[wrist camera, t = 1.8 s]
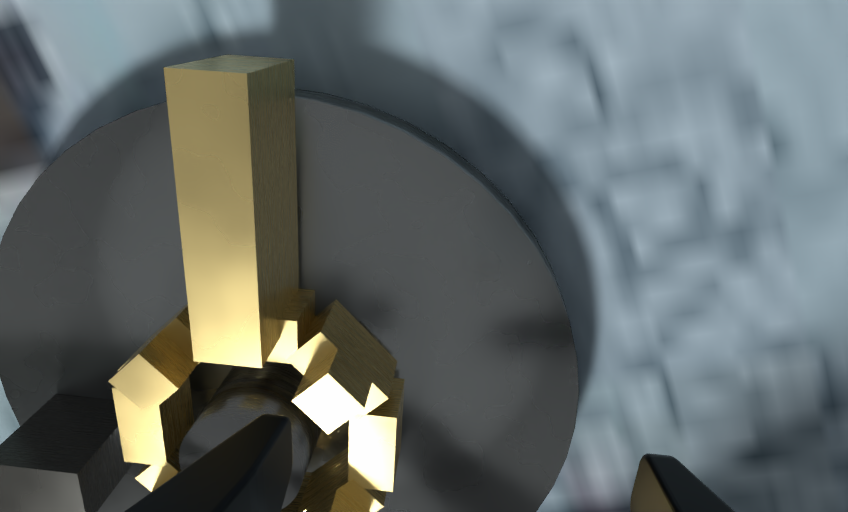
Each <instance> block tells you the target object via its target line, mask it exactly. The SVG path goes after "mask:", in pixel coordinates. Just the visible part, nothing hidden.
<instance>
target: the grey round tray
mask: <svg viewBox="0 0 848 512" xmlns="http://www.w3.org/2000/svg"><path fill="white" fill-rule="evenodd" d="M295 120H296V166H297V213H298V259H299V288H302V289H313V290H315V316H316V315H318V314H319V313H320V312H321V311H323V310H324V309H325V308H326V307H328V306H329V305H330V304H331V303H332V302H334V301H335V300H337V301H338V302H339V303H340V304H341V305H342V306H343V307H344V308H345V309H346V310H347V311H348V312H349V313H350V314H351V315H352V316H353V317H354V318H355V319H356V320H357V321H358V322H359V323H360V324H361V325H362V326H363V327H364V328H365V329H366V330H367V331H368V332H369V333H370V334H371V335H372V336H373V337H374V338H375V339H376V340H377V341H378V342H379V343H380V344H381V345H382V346H383V347H384V348H385V349H386V350H387V351H388V352H389V353H390V354H391V355H392V356H393V357H394V358H395V359H396V360H397V365H396V369H395V373H394V378H401V379H405V382H404V400H403V417H402V434H401V449H400V455H399V460H398V466H397V471H396V477H395V482H394V488H393V492H390V491H387V492H386V497H385V502H384V507H383V508H381V509H379V510H378V511H376V512H536V511H537V510H538V508H539V507H540V505H541V504H542V502H543V501H544V499H545V498H546V496H547V495H548V493H549V492H550V490H551V489H552V487H553V486H554V483H555V481H556V479H557V477H558V475H559V473H560V470H561V468H562V466H563V464H564V462H565V460H566V457H567V454H568V450H569V447H570V443H571V439H572V436H573V432H574V429H575V423H576V414H577V405H578V396H579V387H578V365H577V356H576V351H575V346H574V341H573V336H572V331H571V326H570V322H569V318H568V315H567V311H566V308H565V304H564V301H563V298H562V295H561V292H560V290H559V287H558V284H557V282H556V279H555V276H554V273H553V271H552V268H551V266H550V264H549V262H548V260H547V258H546V257H545V255H544V253H543V251H542V249H541V247H540V246H539V244H538V242H537V240H536V238H535V236H534V235H533V233H532V232H531V230H530V229H529V227H528V226H527V225H526V223H525V222H524V221H523V219H522V218H521V217H520V215H519V214H518V213H517V211H516V210H515V209H514V207H513V206H512V205H511V203H510V202H509V201H508V200H507V199H506V198H505V197H504V196H503V195H502V194H501V192H500V191H499V190H498V189H497V188H496V187H495V186H494V185H493V184H492V183H491V182H490V181H489V180H488V179H487V178H486V177H485V176H484V175H483V174H482V173H481V172H480V171H479V170H477V169H476V168H475V167H474V166H472V165H471V164H470V163H468V162H467V161H466V160H465V159H463V158H462V157H461V156H460V155H458V154H457V153H456V152H454V151H453V150H452V149H451V148H449V147H448V146H447V145H445V144H444V143H442V142H440V141H439V140H437V139H435V138H433V137H432V136H430V135H428V134H427V133H425V132H423V131H422V130H420V129H418V128H417V127H415V126H413V125H411V124H410V123H408V122H406V121H403V120H401V119H399V118H396V117H394V116H392V115H389V114H387V113H385V112H382V111H380V110H378V109H375V108H373V107H371V106H368V105H365V104H361V103H358V102H354V101H351V100H347V99H344V98H340V97H337V96H333V95H329V94H326V93H319V92H312V91H305V90H298V89H295ZM187 303H188V301H187V291H186V281H185V271H184V262H183V252H182V242H181V232H180V223H179V213H178V203H177V194H176V184H175V174H174V164H173V155H172V145H171V135H170V125H169V116H168V106H167V102H164V103H160V104H157V105H154V106H151V107H148V108H144V109H141V110H138V111H135V112H133V113H130V114H128V115H126V116H124V117H122V118H120V119H118V120H115V121H113V122H111V123H109V124H107V125H105V126H103V127H100V128H98V129H97V130H95V131H94V132H92V133H91V134H89V135H88V136H86V137H85V138H83V139H82V140H81V141H79V142H78V143H76V144H75V145H73V146H72V147H70V148H69V149H67V150H66V151H65V152H64V153H63V154H62V155H61V156H60V157H59V158H58V159H57V160H56V161H54V162H53V163H52V164H51V165H50V166H49V167H48V168H47V169H46V170H45V171H44V172H43V173H42V174H41V175H40V176H39V177H38V179H37V180H36V181H35V183H34V184H33V185H32V187H31V188H30V190H29V191H28V192H27V194H26V195H25V196H24V198H23V199H22V201H21V202H20V203H19V205H18V207H17V209H16V211H15V213H14V215H13V217H12V219H11V221H10V223H9V225H8V227H7V229H6V231H5V233H4V235H3V238H2V241H1V245H0V378H1V381H2V384H3V387H4V390H5V394H6V397H7V399H8V401H9V403H10V405H11V407H12V410H13V412H14V414H15V416H16V418H17V420H18V422H19V425H20V427H19V428H18V429H17V430H16V431H15V432H14V433H13V434H12V435H10V436H9V437H8V438H7V439H6V440H5V441H4V442H3V443H2V444H1V445H0V512H124V511H125V510H127V509H128V508H130V507H131V506H133V505H134V504H135V503H137V502H138V501H140V500H141V499H142V498H144V497H145V496H147V495H148V494H150V493H151V491H150V490H149V489H147V488H146V487H145V486H144V485H142V484H141V483H140V482H139V481H137V480H136V479H135V478H136V476H137V475H138V473H139V472H140V471H141V469H142V468H143V467H144V465H145V464H142V463H133V462H124V457H123V452H122V446H121V440H120V434H119V428H118V422H117V416H116V410H115V404H114V398H113V392H112V387H113V385H112V384H111V383H109V382H108V381H109V380H110V379H111V378H112V377H113V376H114V375H115V374H116V373H117V372H118V371H117V370H118V369H119V368H120V367H121V366H122V365H123V364H124V363H125V362H126V361H127V360H128V359H129V358H130V357H131V356H132V355H133V354H134V353H135V352H136V351H137V350H138V349H139V348H140V347H141V346H142V345H143V344H144V343H145V342H146V341H147V340H148V339H149V338H150V337H151V336H152V335H153V334H154V333H155V332H156V331H158V330H159V329H160V328H161V327H162V326H163V325H164V324H165V323H166V322H168V321H169V320H170V319H171V318H172V317H173V316H174V315H175V314H176V313H177V312H179V311H180V310H181V309H182V308H183V307H184V306H185V305H186V304H187ZM303 376H304V375H303V374H302V373H301V372H299V371H298V370H297V369H296V368H295V367H294V366H293V365H292V364H288V363H278V362H268V361H266V362H265V364H264V366H263V367H262V368H255V367H245V366H235V365H226V364H216V363H206V362H200V363H199V364H198V365H197V366H196V367H195V369H194V370H193V371H192V372H191V374H190V375H189V379H190V388H191V397H192V407H193V416H194V422H195V423H194V424H193V426H192V427H191V429H190V430H189V432H188V433H187V434H186V436H185V437H184V439H183V441H182V443H181V446H180V450H179V464H180V469H181V471H182V470H184V469H185V468H186V467H188V466H189V465H191V464H192V463H193V462H195V461H196V460H198V459H199V458H200V457H202V456H203V455H205V454H206V453H208V452H209V451H210V450H212V449H213V448H215V447H216V446H217V445H219V444H220V443H222V442H223V441H225V440H226V439H227V438H229V437H230V436H232V435H233V434H234V433H236V432H237V431H239V430H240V429H242V428H243V427H244V426H246V425H247V424H249V423H250V422H251V421H253V420H254V419H256V418H257V417H259V416H260V415H262V414H274V415H284V416H288V417H289V418H290V420H291V423H292V447H293V465H292V472H291V477H290V480H289V484H288V487H287V491H286V495H285V498H284V502H283V505H282V509H283V508H285V507H286V506H287V505H289V504H290V503H291V502H292V501H293V500H294V499H295V497H296V496H297V494H298V492H299V490H300V487H301V485H302V482H303V479H304V477H305V474H306V472H313V471H315V470H316V469H317V468H319V467H320V466H322V465H323V464H325V463H326V462H328V461H329V460H331V459H332V458H333V457H335V456H336V455H338V454H339V453H341V452H342V451H344V450H345V449H347V448H348V447H349V420H348V421H346V422H345V423H343V424H342V425H341V426H339V427H338V428H336V429H335V430H333V431H332V432H331V433H329V434H327V433H326V432H325V431H324V430H323V429H322V428H321V427H319V426H318V425H317V424H316V423H315V422H314V421H313V420H312V419H311V418H310V417H309V416H308V415H306V414H305V413H304V412H303V411H302V410H301V409H300V408H299V407H298V406H297V405H296V404H295V403H293V402H292V399H293V397H294V395H295V393H296V390H297V388H298V386H299V384H300V382H301V380H302V378H303Z"/></svg>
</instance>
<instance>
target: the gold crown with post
mask: <svg viewBox="0 0 848 512" xmlns="http://www.w3.org/2000/svg"><path fill="white" fill-rule="evenodd" d="M164 77H165V86H166V96H167V106H168V116H169V125H170V135H171V145H172V155H173V164H174V174H175V184H176V194H177V203H178V213H179V223H180V232H181V242H182V252H183V262H184V271H185V281H186V291H187V301H188V303H187V304H186V305H185V306H184V307H183V308H182V309H181V310H180V311H179V312H177V313H176V314H175V315H174V316H173V317H172V318H171V319H170V320H169V321H168V322H166V323H165V324H164V325H163V326H162V327H161V328H160V329H159V330H158V331H156V332H155V333H154V334H153V335H152V336H151V337H150V338H149V339H148V340H147V341H146V342H145V343H144V344H143V345H142V346H141V347H140V348H139V349H138V350H137V351H136V352H135V353H134V354H133V355H132V356H131V357H130V358H129V359H128V360H127V361H126V362H125V363H124V364H123V365H122V366H121V367H120V368H119V369H118V370H117V371H118V372H117V373H116V374H115V375H114V376H113V377H112V378H111V379H110V380H109V381H108V382H109V383H111V384H112V385H113V387H112V392H113V398H114V404H115V410H116V416H117V422H118V428H119V434H120V440H121V446H122V452H123V457H124V462H133V463H142V464H145V465H144V467H143V468H142V469H141V471H140V472H139V473H138V475H137V476H136V478H135V479H136V480H137V481H139V482H140V483H141V484H142V485H144V486H145V487H146V488H147V489H149V490H150V491H151V492H152V491H154V490H155V489H157V488H158V487H159V486H161V485H162V484H164V483H165V482H167V481H168V480H169V479H171V478H172V477H174V476H175V475H176V474H178V473H179V472H181V469H180V464H179V450H180V446H181V443H182V441H183V439H184V437H185V436H186V434H187V433H188V432H189V430H190V429H191V427H192V426H193V424H194V423H195V422H194V416H193V407H192V397H191V388H190V379H189V375H190V374H191V372H192V371H193V370H194V369H195V367H196V366H197V365H198V364H199V363H200V362H206V363H216V364H226V365H235V366H245V367H255V368H262V367H263V366H264V364H265V362H266V361H268V362H278V363H288V364H292V365H293V366H294V367H295V368H296V369H297V370H298V371H299V372H301V373H302V374H303V375H304V376H303V378H302V380H301V382H300V384H299V386H298V388H297V390H296V393H295V395H294V397H293V399H292V402H293V403H295V404H296V405H297V406H298V407H299V408H300V409H301V410H302V411H303V412H304V413H305V414H306V415H308V416H309V417H310V418H311V419H312V420H313V421H314V422H315V423H316V424H317V425H318V426H319V427H321V428H322V429H323V430H324V431H325V432H326V433H327V434H329V433H331V432H332V431H333V430H335V429H336V428H338V427H339V426H341V425H342V424H343V423H345V422H346V421H348V420H349V447H348V448H347V449H345V450H344V451H342V452H341V453H339V454H338V455H336V456H335V457H333V458H332V459H331V460H329V461H328V462H326V463H325V464H323V465H322V466H320V467H319V468H317V469H316V470H315V471H313V472H306V474H305V477H304V479H303V482H302V485H301V487H300V490H299V492H298V494H297V496H296V497H295V499H294V500H293V501H292V502H291V503H290V504H289V505H287V506H286V507H285V508H283V509H281V512H376V511H378V510H379V509H381V508H383V507H384V502H385V497H386V492H387V491H390V492H393V488H394V482H395V477H396V471H397V466H398V460H399V455H400V449H401V434H402V417H403V400H404V382H405V379H401V378H394V373H395V369H396V365H397V360H396V359H395V358H394V357H393V356H392V355H391V354H390V353H389V352H388V351H387V350H386V349H385V348H384V347H383V346H382V345H381V344H380V343H379V342H378V341H377V340H376V339H375V338H374V337H373V336H372V335H371V334H370V333H369V332H368V331H367V330H366V329H365V328H364V327H363V326H362V325H361V324H360V323H359V322H358V321H357V320H356V319H355V318H354V317H353V316H352V315H351V314H350V313H349V312H348V311H347V310H346V309H345V308H344V307H343V306H342V305H341V304H340V303H339V302H338V301H337V300H335V301H334V302H332V303H331V304H330V305H329V306H328V307H326V308H325V309H324V310H323V311H321V312H320V313H319V314H318V315H316V316H315V290H313V289H302V288H299V259H298V213H297V166H296V120H295V73H294V59H282V58H268V57H255V56H241V55H222V56H218V57H213V58H208V59H203V60H198V61H193V62H188V63H183V64H178V65H173V66H168V67H164Z"/></svg>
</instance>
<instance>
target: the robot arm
mask: <svg viewBox="0 0 848 512" xmlns="http://www.w3.org/2000/svg"><path fill="white" fill-rule="evenodd" d="M292 465H293V447H292V423H291V420H290V418H289V417H288V416H284V415H274V414H262V415H260V416H259V417H257V418H256V419H254V420H253V421H251V422H250V423H249V424H247V425H246V426H244V427H243V428H242V429H240V430H239V431H237V432H236V433H234V434H233V435H232V436H230V437H229V438H227V439H226V440H225V441H223V442H222V443H220V444H219V445H217V446H216V447H215V448H213V449H212V450H210V451H209V452H208V453H206V454H205V455H203V456H202V457H200V458H199V459H198V460H196V461H195V462H193V463H192V464H191V465H189V466H188V467H186V468H185V469H184V470H182V471H181V472H179V473H178V474H176V475H175V476H174V477H172V478H171V479H169V480H168V481H167V482H165V483H164V484H162V485H161V486H159V487H158V488H157V489H155V490H154V491H152V492H151V493H150V494H148V495H147V496H145V497H144V498H142V499H141V500H140V501H138V502H137V503H135V504H134V505H133V506H131V507H130V508H128V509H127V510H125V511H124V512H281V509H282V505H283V502H284V498H285V495H286V491H287V487H288V484H289V480H290V477H291V472H292ZM630 509H631V512H734V511H733V510H732V509H731V508H730V507H729V506H728V505H727V504H726V503H724V502H723V501H722V500H721V499H720V498H719V497H718V496H717V495H716V494H715V493H713V492H712V491H711V490H710V489H709V488H708V487H707V486H706V485H705V484H703V483H702V482H701V481H700V480H699V479H698V478H697V477H696V476H695V475H694V474H692V473H691V472H690V471H689V470H688V469H687V468H686V467H685V466H684V465H683V464H681V463H680V462H679V461H678V460H677V459H676V458H674V457H672V456H667V455H658V454H645V455H644V456H643V457H642V459H641V460H640V464H639V468H638V471H637V475H636V479H635V483H634V487H633V491H632V495H631V504H630Z"/></svg>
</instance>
